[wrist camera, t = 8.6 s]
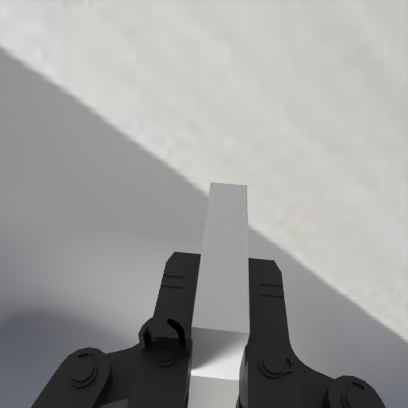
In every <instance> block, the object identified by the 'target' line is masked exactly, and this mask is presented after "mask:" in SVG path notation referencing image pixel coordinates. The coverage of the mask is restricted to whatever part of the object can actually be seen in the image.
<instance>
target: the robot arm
mask: <svg viewBox="0 0 408 408" xmlns="http://www.w3.org/2000/svg"><path fill="white" fill-rule="evenodd" d="M138 335H139V342H140V343H138V344H137V345H135V346H134V347H131V348H128V349H126V350H121V351H117V352H113V353H108V354H105V353H103V352H102V351H100V350H99V349H96V348H89V347H88V348H84V349H80V350H77V351H76V352H74V353H72V354H70V355H69V356H68V357H67V358H66V359H65V360H64V361H63V362H62V363H61V365H60V366H59V368H58V369H57V371H56V372H55V373H54V375H53V376H52V378H51V379H50V381H49V382H48V384H47V385H46V387H45V388H44V389H43V391H42V392H41V394H40V395H39V397H38V398H37V400H36V401H35V402H34V404H33V405H32V407H31V408H187V407H188V399H189V385H190V376H191V375H195V376H203V377H212V378H221V379H230V380H239V396H238V400H237V404H236V408H385V406H384V404H383V402H382V400H381V398H380V397H379V396H378V394H377V393H376V391H375V390H374V389H373V388H372V387H371V386H370V385H369V384H367V383H366V382H365V381H363V380H361V379H359V378H356V377H354V376H341V377H338V378H336V379H333V378H330V377H328V376H326V375H324V374H321V373H319V372H317V371H314V370H313V369H311V368H309V367H308V366H306V365H305V364H304V363H302V362H301V361H300V360H299V359H298V357H297V356H296V355H295V354H294V352H293V350H292V348H291V345H290V341H289V333H288V325H287V317H286V308H285V300H284V291H283V283H282V275H281V271H280V270H279V268H278V266H277V265H276V263H275V261H273V260H263V259H253V258H248V215H247V186H245V185H234V184H222V183H211V185H210V192H209V200H208V208H207V215H206V222H205V230H204V237H203V246H202V252H201V254H192V253H182V252H174V253H173V254H172V256H171V257H170V258H169V259H168V261H167V262H166V266H165V270H164V274H163V278H162V283H161V287H160V290H159V294H158V299H157V303H156V307H155V311H154V315H153V317H152V318H150V319H149V320H148V321H147V322H146V323H145V324H144V325H143V326H142V328H141V330H140V332H139V334H138Z"/></svg>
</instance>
